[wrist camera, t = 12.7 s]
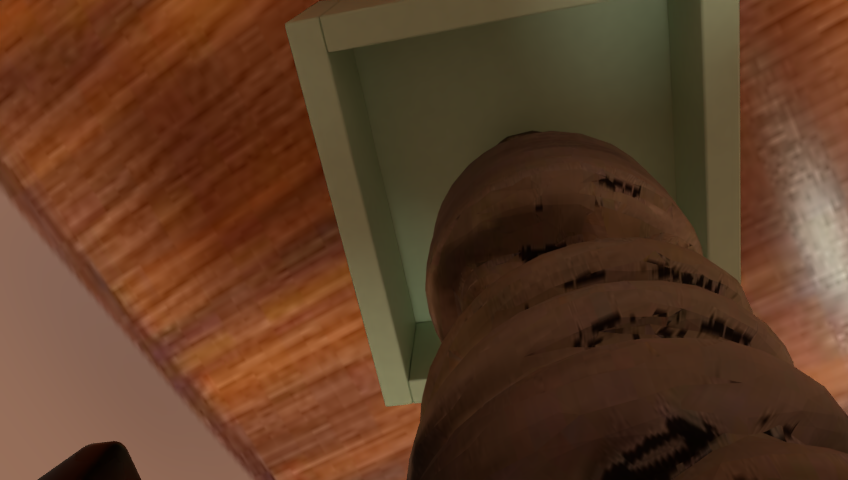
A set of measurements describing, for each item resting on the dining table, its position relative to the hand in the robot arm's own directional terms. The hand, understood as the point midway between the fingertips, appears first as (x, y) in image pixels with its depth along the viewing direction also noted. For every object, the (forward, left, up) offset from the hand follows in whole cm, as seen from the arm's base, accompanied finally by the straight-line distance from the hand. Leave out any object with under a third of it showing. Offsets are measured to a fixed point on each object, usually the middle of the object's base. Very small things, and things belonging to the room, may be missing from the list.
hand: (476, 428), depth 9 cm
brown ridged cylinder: (+2, -1, -12) cm, 12 cm away
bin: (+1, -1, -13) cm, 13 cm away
